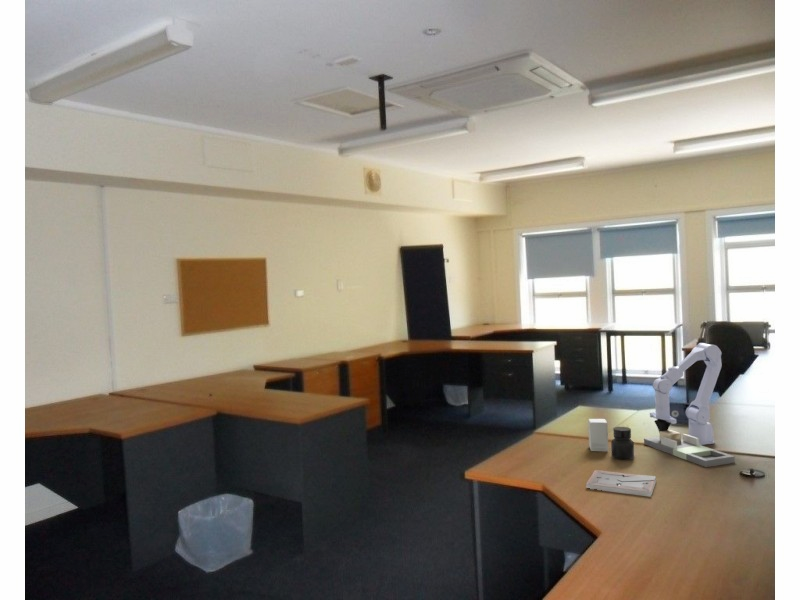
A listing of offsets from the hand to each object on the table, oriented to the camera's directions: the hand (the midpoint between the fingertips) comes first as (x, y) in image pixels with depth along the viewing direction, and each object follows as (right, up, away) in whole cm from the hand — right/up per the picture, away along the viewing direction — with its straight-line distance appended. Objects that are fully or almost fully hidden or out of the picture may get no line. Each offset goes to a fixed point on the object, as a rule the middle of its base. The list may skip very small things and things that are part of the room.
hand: (663, 436), depth 266 cm
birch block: (+1, -1, -4) cm, 5 cm away
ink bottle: (-23, -5, -15) cm, 28 cm away
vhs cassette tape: (+26, -1, +35) cm, 44 cm away
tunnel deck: (+4, -4, -13) cm, 15 cm away
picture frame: (-36, -8, -47) cm, 60 cm away
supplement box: (-29, -5, -2) cm, 30 cm away
